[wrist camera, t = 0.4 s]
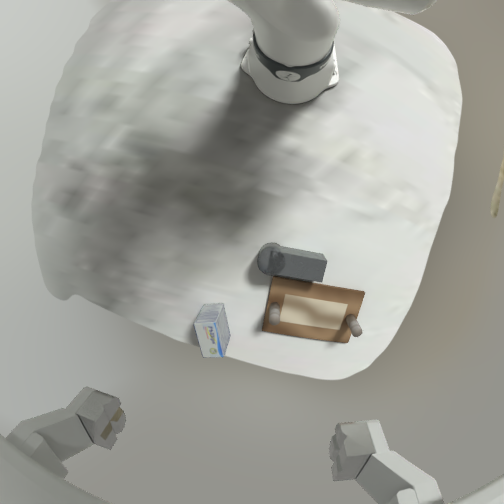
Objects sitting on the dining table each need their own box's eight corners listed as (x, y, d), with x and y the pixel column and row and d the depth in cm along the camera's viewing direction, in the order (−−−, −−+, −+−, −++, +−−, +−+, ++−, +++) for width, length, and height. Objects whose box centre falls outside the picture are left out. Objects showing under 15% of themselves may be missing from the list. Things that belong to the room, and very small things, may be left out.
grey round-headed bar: (261, 240, 52) (260, 246, 47) (323, 251, 51) (327, 258, 46) (257, 264, 53) (255, 272, 48) (317, 275, 52) (321, 284, 48)
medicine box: (203, 303, 56) (192, 323, 48) (224, 302, 55) (215, 321, 47) (211, 336, 58) (202, 358, 49) (231, 335, 57) (224, 357, 49)
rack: (273, 275, 53) (272, 288, 47) (363, 291, 52) (374, 304, 46) (262, 328, 56) (260, 346, 50) (347, 341, 55) (354, 358, 49)
